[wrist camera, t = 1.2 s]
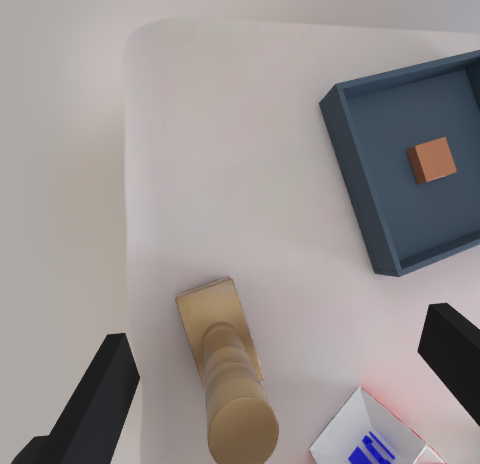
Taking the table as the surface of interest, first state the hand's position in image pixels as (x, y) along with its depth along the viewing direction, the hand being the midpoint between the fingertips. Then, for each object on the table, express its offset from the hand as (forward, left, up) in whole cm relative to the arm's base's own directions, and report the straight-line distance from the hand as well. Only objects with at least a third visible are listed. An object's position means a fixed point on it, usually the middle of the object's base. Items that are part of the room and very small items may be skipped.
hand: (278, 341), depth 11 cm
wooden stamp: (+3, -3, -14) cm, 14 cm away
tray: (-6, +24, -14) cm, 29 cm away
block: (-6, +24, -13) cm, 28 cm away
